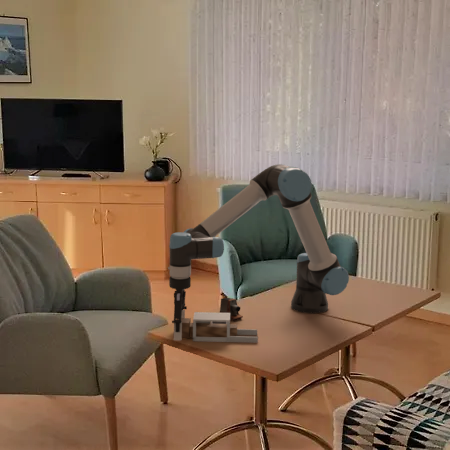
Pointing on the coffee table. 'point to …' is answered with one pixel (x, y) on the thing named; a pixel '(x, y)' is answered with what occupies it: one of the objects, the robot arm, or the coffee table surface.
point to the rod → (213, 330)
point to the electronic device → (230, 308)
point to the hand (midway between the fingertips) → (179, 333)
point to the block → (185, 327)
